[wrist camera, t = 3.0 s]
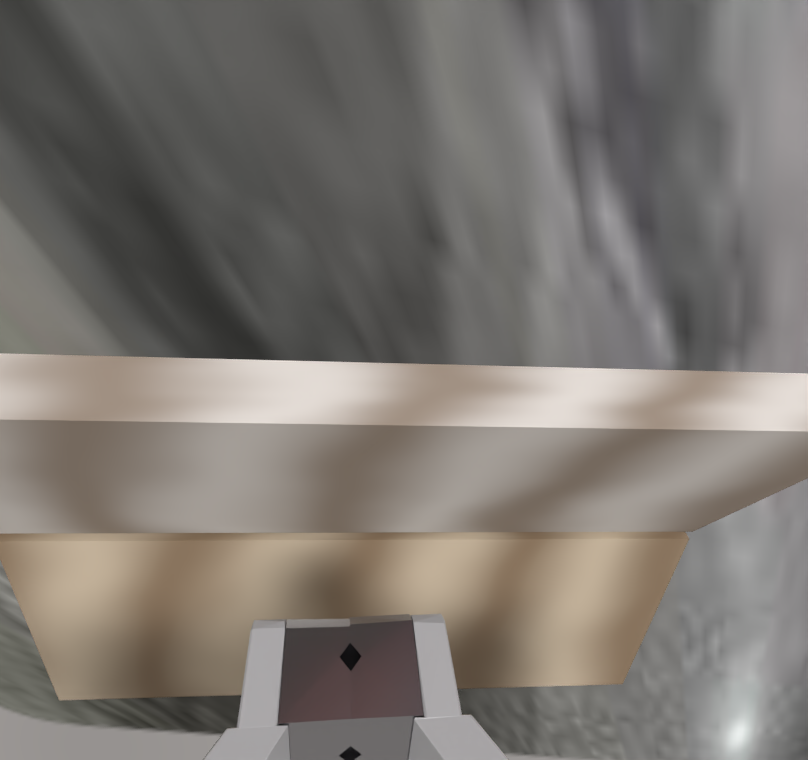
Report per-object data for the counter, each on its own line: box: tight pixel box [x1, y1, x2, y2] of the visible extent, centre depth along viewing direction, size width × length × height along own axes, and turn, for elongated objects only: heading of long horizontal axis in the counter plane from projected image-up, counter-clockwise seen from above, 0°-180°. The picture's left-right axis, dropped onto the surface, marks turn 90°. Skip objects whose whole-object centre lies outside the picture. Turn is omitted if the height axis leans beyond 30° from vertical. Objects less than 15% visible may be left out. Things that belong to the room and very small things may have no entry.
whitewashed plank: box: [0, 354, 808, 534], centre depth 18 cm, size 26×10×2 cm, turn 86°
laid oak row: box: [0, 532, 689, 700], centre depth 26 cm, size 26×10×2 cm, turn 86°
